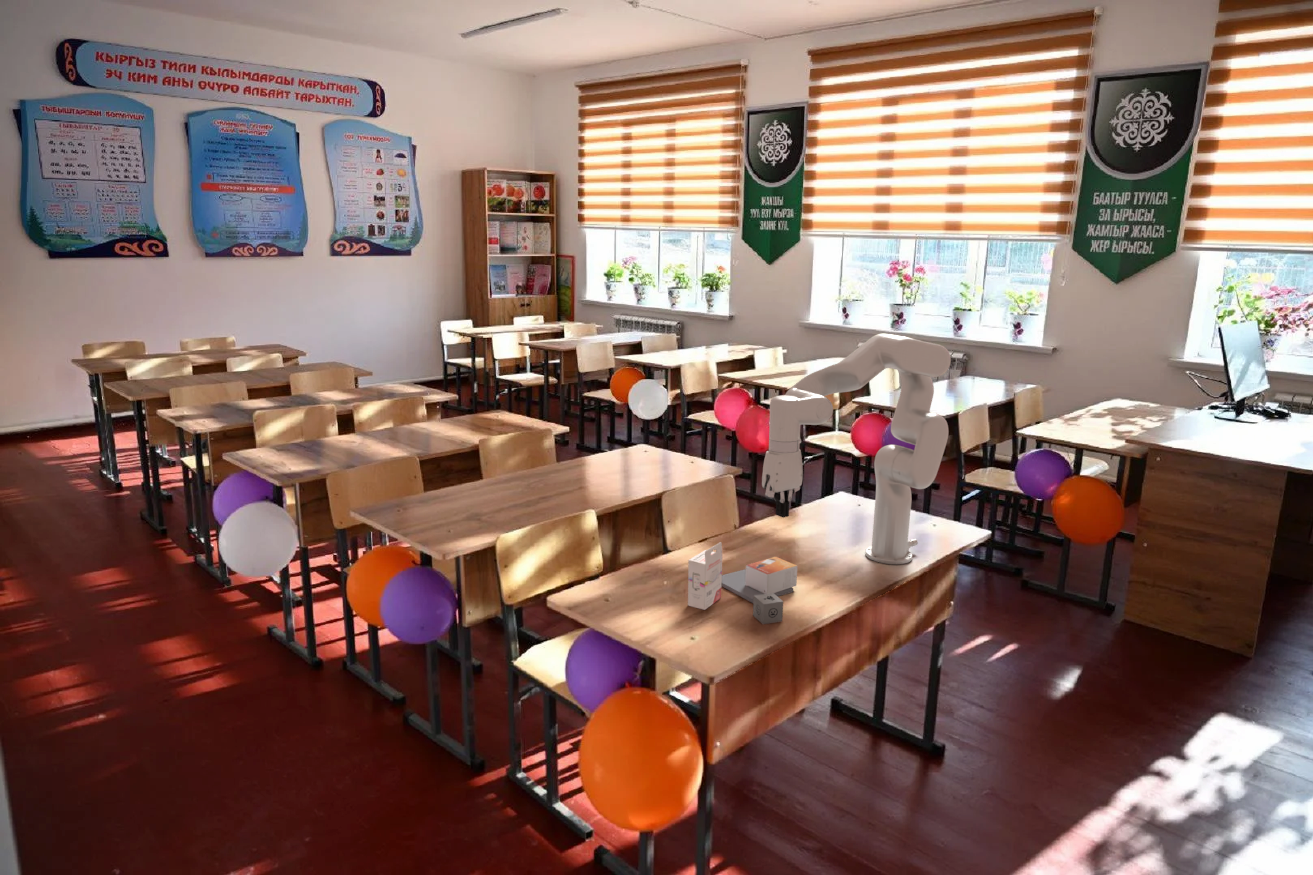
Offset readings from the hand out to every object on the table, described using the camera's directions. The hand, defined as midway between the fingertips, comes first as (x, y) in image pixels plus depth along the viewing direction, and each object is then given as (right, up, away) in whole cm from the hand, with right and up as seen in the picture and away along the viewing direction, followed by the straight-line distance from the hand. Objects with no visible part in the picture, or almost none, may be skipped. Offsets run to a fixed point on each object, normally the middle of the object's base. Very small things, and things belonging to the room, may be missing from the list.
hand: (782, 515), depth 219 cm
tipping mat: (-8, -18, -1) cm, 19 cm away
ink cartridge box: (-20, -20, -10) cm, 30 cm away
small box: (+1, -14, 0) cm, 14 cm away
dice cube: (-6, -22, -19) cm, 30 cm away
